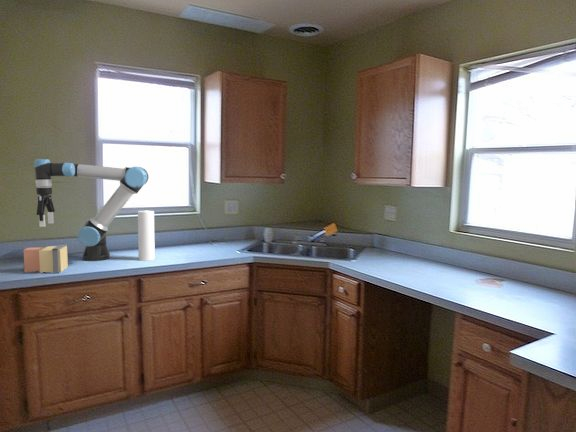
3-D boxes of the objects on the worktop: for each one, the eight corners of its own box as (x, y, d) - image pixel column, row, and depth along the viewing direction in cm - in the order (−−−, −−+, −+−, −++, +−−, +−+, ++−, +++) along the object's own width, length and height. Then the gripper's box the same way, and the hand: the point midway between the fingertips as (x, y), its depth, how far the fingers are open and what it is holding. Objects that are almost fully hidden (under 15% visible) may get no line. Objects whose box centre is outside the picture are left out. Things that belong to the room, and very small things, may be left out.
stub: (45, 269, 224) (44, 247, 223) (41, 271, 218) (40, 249, 217) (29, 269, 222) (28, 247, 221) (24, 272, 216) (23, 249, 215)
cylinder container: (157, 258, 256) (157, 210, 253) (148, 261, 248) (147, 211, 244) (145, 256, 259) (144, 209, 256) (135, 259, 251) (134, 210, 247)
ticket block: (68, 266, 231) (67, 243, 229) (60, 273, 216) (59, 248, 215) (49, 267, 229) (48, 243, 227) (38, 273, 214) (37, 249, 212)
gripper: (44, 186, 241) (47, 222, 243) (27, 188, 216) (30, 228, 219) (58, 186, 242) (61, 221, 245) (43, 188, 218) (46, 227, 221)
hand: (46, 225), depth 232 cm, fingers open, 13 cm apart
